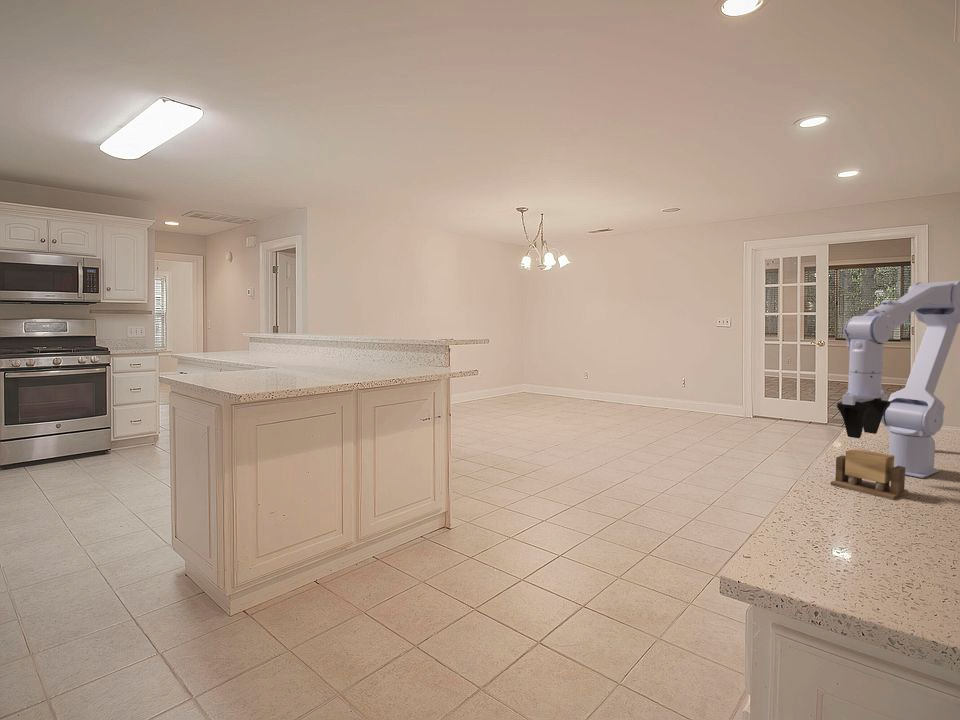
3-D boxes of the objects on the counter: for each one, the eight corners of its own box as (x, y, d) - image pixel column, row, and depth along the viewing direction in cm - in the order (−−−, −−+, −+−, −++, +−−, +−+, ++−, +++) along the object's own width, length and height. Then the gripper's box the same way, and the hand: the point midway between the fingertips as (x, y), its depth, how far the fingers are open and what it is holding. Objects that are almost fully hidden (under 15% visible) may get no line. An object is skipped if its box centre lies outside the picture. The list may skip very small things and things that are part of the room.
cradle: (846, 479, 114) (847, 453, 114) (908, 493, 105) (909, 465, 104) (830, 484, 110) (831, 458, 110) (893, 499, 101) (894, 471, 101)
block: (853, 471, 111) (854, 448, 111) (893, 479, 105) (894, 455, 105) (844, 474, 109) (845, 451, 109) (884, 483, 103) (885, 458, 103)
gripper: (871, 375, 104) (868, 443, 105) (902, 371, 112) (899, 434, 113) (832, 373, 110) (829, 436, 111) (864, 369, 118) (861, 428, 119)
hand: (862, 435), depth 112 cm, fingers open, 7 cm apart
